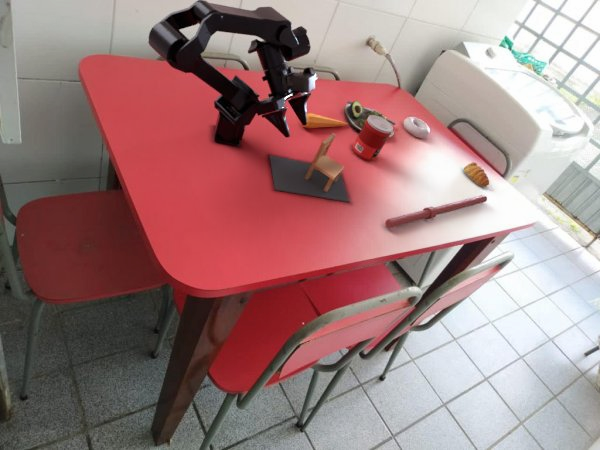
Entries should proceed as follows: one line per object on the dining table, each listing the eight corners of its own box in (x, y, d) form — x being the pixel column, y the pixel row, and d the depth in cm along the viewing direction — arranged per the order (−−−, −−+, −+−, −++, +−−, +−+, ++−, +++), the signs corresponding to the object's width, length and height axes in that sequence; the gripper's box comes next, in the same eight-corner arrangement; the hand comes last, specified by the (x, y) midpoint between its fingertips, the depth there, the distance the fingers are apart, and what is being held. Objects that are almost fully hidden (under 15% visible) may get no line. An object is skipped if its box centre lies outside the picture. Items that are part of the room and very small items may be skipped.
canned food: (374, 165, 121) (393, 135, 113) (350, 154, 120) (367, 123, 113) (376, 152, 126) (393, 122, 119) (352, 141, 126) (369, 111, 118)
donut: (404, 119, 151) (399, 129, 143) (408, 111, 148) (404, 121, 141) (427, 132, 150) (424, 143, 142) (433, 125, 148) (429, 135, 140)
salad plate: (385, 114, 147) (391, 103, 144) (402, 144, 136) (410, 133, 133) (337, 103, 140) (343, 91, 137) (352, 134, 128) (359, 122, 125)
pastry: (490, 187, 138) (497, 178, 135) (478, 189, 134) (486, 180, 131) (471, 168, 142) (478, 160, 140) (459, 170, 138) (466, 161, 136)
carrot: (301, 130, 120) (310, 122, 117) (296, 117, 121) (305, 109, 118) (347, 134, 133) (357, 127, 129) (343, 122, 134) (352, 114, 130)
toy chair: (304, 178, 104) (322, 141, 96) (315, 167, 108) (333, 132, 101) (326, 192, 103) (345, 156, 95) (336, 181, 108) (355, 146, 100)
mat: (274, 190, 97) (275, 189, 96) (269, 155, 105) (269, 155, 105) (349, 202, 104) (349, 201, 103) (338, 169, 112) (338, 168, 112)
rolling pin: (389, 232, 101) (395, 224, 99) (381, 223, 102) (387, 214, 100) (484, 205, 127) (490, 198, 125) (477, 198, 129) (483, 191, 127)
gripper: (283, 65, 84) (307, 137, 90) (321, 49, 98) (339, 112, 104) (242, 80, 90) (267, 146, 96) (283, 62, 104) (303, 121, 110)
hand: (296, 130), depth 101 cm, fingers open, 9 cm apart
